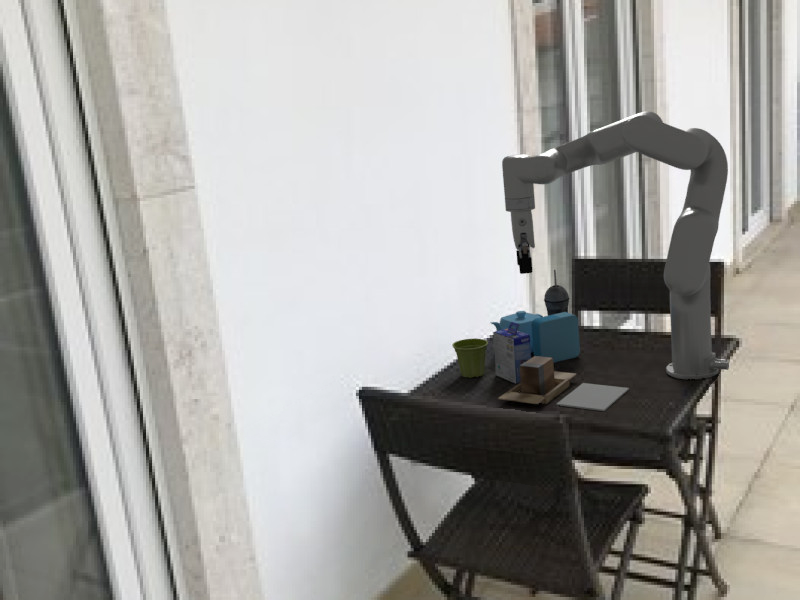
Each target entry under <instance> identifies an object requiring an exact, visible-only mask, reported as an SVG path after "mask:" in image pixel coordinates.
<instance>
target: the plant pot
mask: <svg viewBox="0 0 800 600" xmlns="http://www.w3.org/2000/svg"><path fill="white" fill-rule="evenodd" d="M488 345H489V341H488V340H487V339H483V338H477V337H476V338H475V337H474V338H463V339H460V340H456V341H455V342H453V343H452V348H454V352H455V353H456V357H457V362H458V365H459V366H458V367H459V370H460V374H461V377H464V378H467V377H468V378H469V379H472V378H474V377H477V378H479V376H480V377H481V376H484V374H485V369H486V368H485V363H486V351H487V349H488Z"/></svg>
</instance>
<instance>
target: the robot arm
mask: <svg viewBox="0 0 800 600" xmlns="http://www.w3.org/2000/svg"><path fill="white" fill-rule="evenodd" d="M636 153H638V154H640V155H643V156H644V157H645V156H646V157H648V158H651V159H653V160H656V161H658V162H659V163H663V164H666V165H668V166H670V167H673V168H676V169H679V170H684V171H689V170H690V175H689V180H688V184H687V188H686V196H685V199H684V204H683V207H682V211H681V213H680V214H679V216H678V218H677V219H676V221H675V222H674V226H673V229H672V234H671V237H670V243H669V246H668V251H667V256H666V261H665V266H664V268H663V269H664V270H663V280H664V284H665V286H666V287H667V288H668V290H669V311H670V312H669V313H670V335H671V336H670V338H671V339H670V341H671V343H670V344H671V361H672V362H671V363H669V364H668V365H666V366H665V370H666V371H665V372H666V374H668V376H671V377H673V378H675V379H680V380H688V379H690V380H691V379H695V380H703V379H702V378H705V379H709V378H713V377H714V376H716V375H718V374H719V372H720V370H726V371H727V370H729V369H730V362H729V361H728V359H726V358H718V357H716V356H717V355H716V352H713V351H712V321H711V320H712V319H711V312H712V311H711V305H712V304H711V277H712V276H711V274H712V273H711V262H710V261H711V257H712V256H711V255H712V252H713V248H714V243H715V238H716V236H717V234H718V231H719V225H720V224H719V223H720V222H719V221H720V216H721V211H722V206H723V202H724V198H725V193H726V188H727V183H728V174H729V171H728V170H729V165H728V164H729V163H728V158H727V154H726V151H725V149H724V148H723V146H722V144H721V143H720V142H719V140H718V139H717V138H716V137H715V136H714V135H712V134H711V133H710V132H708V131H706V130H705V129H702V128H698V127H691V128H687V129H685V130H683V129H680V128H678V127H676V126H672V125H670V124H668V123H665V122H663V119H662V118H661V116H659V114H658V113H655V112H653V111H646V110H644V111H642V112H638V113H635V114H633V115H631V116H628V117H625V118H623V119H621V120H617V121H615V122H612V123H610V124H608V125H604V126H603V127H600V128H597V129H594V130H593V131H591V132H587V134H585V135H583V136H581V137H578V138H576V139H573V140H571V141H569V142H565V143H564V144H560V145H558V146H556V147H554V148H550V149H549V150H545V151H544V152H542V153H539V154H537V155H532V156H530V155H529V154H522V153H520V154H512V155H507V156H505V157H504V158H503V159H502V162H501V163H502V164H501V166H502V167H501V168H502V179H503V180H502V181H503V190H504V191H503V192H504V193H503V195H504V207H505V211H506V212H510V222H511V231H512V237H513V242H514V246H515V249H516V262H517V263H516V264H517V266H518V267H519V274H520V275H524V274H532V273H533V262H532V261H533V260H532V259H533V258H532V256H531V249H530V248H532V249H535V247H536V242H535V231H534V220H533V214H532V211H533V210H535V209H536V199H535V186H534V184H535V185H549V184H551V183H554V182H555V181H556V180H557V179H559V178H561V177H563V176H566V175H568V174H571V173H574V172H576V171H579V170H582V169H585V168H587V167H592V166H598V165H599V166H601V165H606V164H608V163H611V162H614V161H617V160H619V159H622V158H625V157H627V156H630V155H633V154H636Z"/></svg>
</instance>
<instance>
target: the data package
mask: <svg viewBox="0 0 800 600" xmlns="http://www.w3.org/2000/svg"><path fill="white" fill-rule="evenodd" d="M531 326H532V339H533V357H534V356H540V357H550V358H553V364H554V363H559V362H562V361H566V360H570V359H574V358H577V357H578V356H579V355H580V354H581V347H580V346H581V345H580V328H579V318H578V317H577V315H575V314H573V313H570V312H568V313H567V312H562V313H558V314H553V315H549V316H548V315H545V316H543V317H540V318H536V319H534V320H533V321H532V324H531Z"/></svg>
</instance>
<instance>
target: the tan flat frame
mask: <svg viewBox="0 0 800 600" xmlns="http://www.w3.org/2000/svg"><path fill="white" fill-rule="evenodd" d="M576 376H577V373H576V372H575V373H573V372H564V371H555V370H554V379H555V388H553V389H552V390H551V391H549V392H548V393H547V394H545V395H544V396H542V395H534V394H525V393H522V391H521V382H520V383H517V384H516V385H515V386H513V387H512V388H510V389H509V390H508V391H506V392H505V393H503V394H502V395H500V396H499V397H498V398H497V399H498V400H500V401H501V400H503V401H510V402H511V401H512V402H517V403H526V404H533V405H540V404H539V403H542V404H541V405H543V404H544V405H545V404H546V405H547V404H549V402H551V401H552V400H554V399H555V398H556V397H557V396H559V395H560V394H561V393H563V392H564V391H566V390H567V389H568V388H569V387H570V386H571V385H570V380H572V379H574V378H575V377H576ZM519 391H521V392H520V393H518V392H519ZM554 397H555V398H554Z"/></svg>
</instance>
